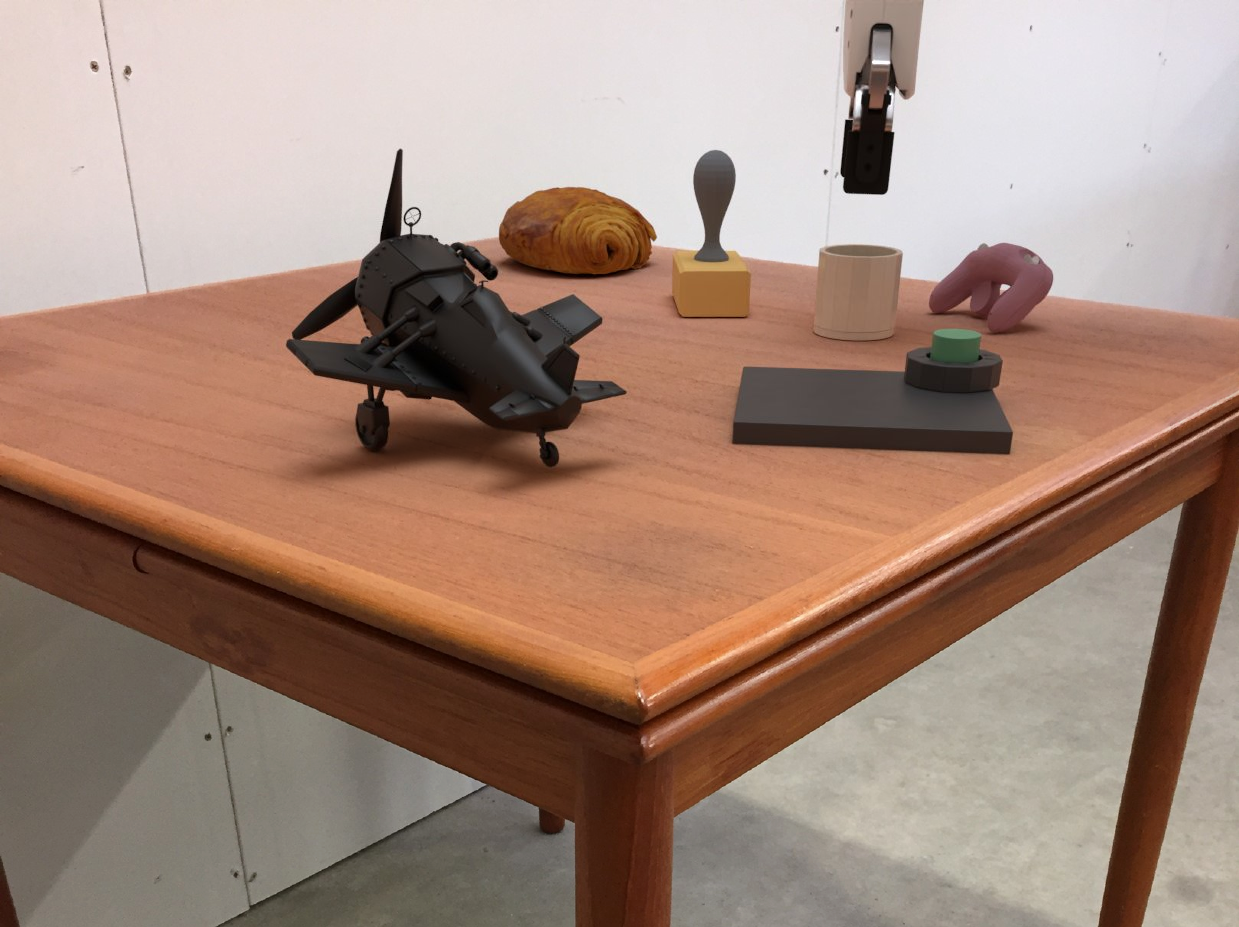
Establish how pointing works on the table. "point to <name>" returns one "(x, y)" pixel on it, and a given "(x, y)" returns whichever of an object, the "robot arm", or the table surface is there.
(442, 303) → the airplane toy
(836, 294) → the cup
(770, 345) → the table surface
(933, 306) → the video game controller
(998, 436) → the scale
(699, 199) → the rubber stamp
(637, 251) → the croissant
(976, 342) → the tare button
